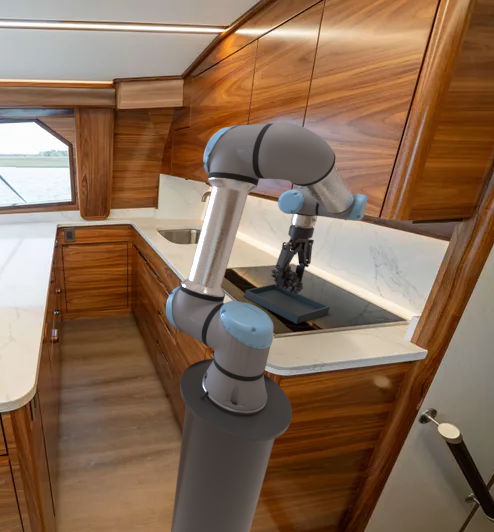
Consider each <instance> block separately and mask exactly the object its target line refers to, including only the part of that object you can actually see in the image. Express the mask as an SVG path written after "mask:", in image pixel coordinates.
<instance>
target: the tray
mask: <svg viewBox="0 0 494 532" xmlns="http://www.w3.org/2000/svg"><path fill="white" fill-rule="evenodd" d="M244 298H246V299H248V300H250V301H251V302H254V303H255V304H258V305H260V306H261V307H263V308H265V309H266V310H269V311H271V312H273V313H275V314H276V315H279V316H281V317H282V318H284V319H286V320H288V321H290V322H292V323H294V324H296V325H297V324H301V323H304V322H308V321H311V320H313V319H317V318H320V317H323V316H327V315H328V314H329V312H330V307H331V306H328V305H326V304H324V303H321V302H320V301H317V300H315V299H312V298H310V297H308V296H305V295H303V294H301V293H299V292H298V293H297V294H294V293H289V290H288V289H284V288H282V287H280V286H276V285H275V283H272V284H267V285H262V286H258V287H254V288H250V289H246V290H245V293H244Z"/></svg>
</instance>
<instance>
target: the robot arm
mask: <svg viewBox="0 0 494 532" xmlns="http://www.w3.org/2000/svg"><path fill="white" fill-rule="evenodd" d="M202 160H203V161H202V162H203V163H204V164H203V169H204V170H205V172H206V174H207V175H208V178H207V182H208V183H209V185H210V187H211V191H210V195H209V198H208V202H207V204H206V205H207V206H206V209H205V213H204V218H203V221H202V225H201V229H200V233H199V236H198V240H197V243H196V248H195V251H194V255H193V260H192V263H191V267H190V271H189V274H188V278H186V279H184V280H182V281H181V283H180V286H179V285H178V286H176V287H175V288H174V289H173V290H172V291H171V293H170V294H169V295H168V297H167V300H166V304H165V314H166V319H167V320H168V322H169V323H170V324H171V326H172V327H174V328H176V329H177V330H178V331H179V332H181V333H183V334H186V335H187V336H189V337H191V338H192V339H195V340H196V341H197V342H199V343H201V344H204V345H205V346H207V347H208V348H210V349H212V350H214V351H213V352H214V353H213V358H212V359H213V361H212V363H211V365H210V366H209V368H208V369H207V371H206V373H205V375H204V377H203V382H202V389H203V392H204V394H203V395H202V396H201V398H202V399H203V398H204V397H207V399H208V400H209V401H210V402H211V403H212V404H213V405H215V406H216V407H218V408H219V409H221V410H223V411H225V412H227V413H230V414H233V415H238V416H253V415H256V414H259V413H260V412H262V411H263V410H264V408H265V406H266V402H267V391H266V388H265V381H264V375H265V370H266V367H267V362H268V359H269V355H270V350H271V346H272V344H273V340H274V337H273V335H274V329H275V327H274V323H273V320H272V318H271V317H270V316H269V315H268V313H267V312H265V311H264V310H263V309H261V308H259V307H258V306H256V305H255V304H252V303H248V302H245V301H243V302H241V301H239V300H230V301H226V302H224V301H225V298H226V292H225V291H224V289H223V287H222V285H223V281H224V278H225V275H226V270H227V268H228V265H229V261H230V258H231V254H232V252H233V247H234V244H235V239H236V237H237V234H238V231H239V226H240V224H241V220H242V216H243V213H244V210H245V205H246V202H247V198H248V195H249V194H250V193H251V192H252V191H254V190H256V189H257V188H258V186H259V185H258V184H259V181H260V179H262V180H263V179H264V180H281V181H288V182H290V183H291V184H292V185H295V186H298V187H297V188H292V189H289V190H286V191H284V192H283V193H282V194H280V196H279V198H278V200H277V207H278V209H279V210H280V211H281V212H282V213H284V214H287V215H292V216H291V219H290V226H289V228H288V229H289V230H288V236H289V237H290V238H289V241H288V242H285V241H283V242H282V246H281V250H280V253H279V255H278V258H277V261H276V264H275V267H274V268H275V269H277V268H278V269H279V273H278V280H277V285H279V286H281V287H284V285H285V281H286V277H287V272H288V271H287V270H286V269H287V268H288V266H290V264H291V262H292V260H293V259H294V257H295V256H296V255H297V260H298V264H297V265H296V268H295V271H294V272H296V273H297V277H298V278H299V282H302V280H303V276H304V272H305V269H306V268H309V267H310V265H311V261H312V254H313V253H312V252H313V246H314V242H315V241H314V239H312V238H313V235H314V231H315V226H316V222H317V221H318V220H317V218H318V217H323V218H329V219H337V220H344V221H351V222H352V221H354V222H359V221H361V220H362V219H363V218H364V217H365V215H363V214H364V212H365V207H366V204H367V200H368V197H369V196H368V195H367V194H363V193H362V194H361V193H353V192H352V190H351V189H350V186H348V183H347V182H346V180H345V179H344V177H343V176H342V174H341V173H340V171H339V170H338V168H337V166H336V163H337V162H336V161H337V157H336V154H335V151H334V150H333V148H332V147H331V145H330V144H329V143H328V142H327V141H326V140H325V139H324V138H323V137H322V136H320V135H318V134H317V133H315V132H313V131H312V130H310V129H308V128H306V127H304V126H302V125H299V124H295V123H293V122H286V121H281V122H272V123H261V124H260V123H255V124H235V125H232V126H227V127H223V128H219V130H217V132H215V133H214V134H213V135H212V136H211V137H210V139H209V140H208V141H207V144H206V146H205V149H204V152H203V158H202ZM366 195H367V196H366Z"/></svg>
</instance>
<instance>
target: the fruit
mask: <svg viewBox="0 0 494 532" xmlns="http://www.w3.org/2000/svg"><path fill="white" fill-rule="evenodd" d="M286 270H287V271H288V272H287V277H286V281H285V285H284V287H282V288H284V289H288V290H289V293H294V294H297V293H298V294H299V293H300V292H301V291H303V290H304V286H303V285H304V282H302V281H301V282H299V278H298V277H297V273H296V272H295V271H294V270H292V267H291V266H290V265H289V266H288V268H287V269H286ZM278 273H279V269H278V268H273V269H271V277H272V278H273V281H274V282H275V283H274V284H275V285H276V286H279V285H277V280H278ZM280 287H281V286H280Z"/></svg>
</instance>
